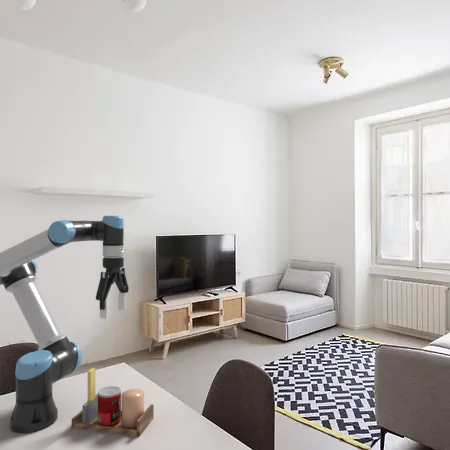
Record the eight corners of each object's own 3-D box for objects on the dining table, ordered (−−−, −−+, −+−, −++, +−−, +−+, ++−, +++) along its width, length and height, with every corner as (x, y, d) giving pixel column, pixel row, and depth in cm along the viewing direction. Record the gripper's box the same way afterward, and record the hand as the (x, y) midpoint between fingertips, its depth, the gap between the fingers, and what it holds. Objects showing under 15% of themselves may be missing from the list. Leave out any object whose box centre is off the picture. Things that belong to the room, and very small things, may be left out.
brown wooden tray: (71, 429, 128) (71, 413, 128) (90, 412, 140) (90, 397, 140) (139, 438, 123) (139, 421, 123) (153, 420, 134) (153, 404, 134)
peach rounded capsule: (117, 430, 127) (117, 397, 127) (127, 418, 134) (127, 387, 134) (138, 432, 125) (138, 399, 125) (147, 420, 133) (147, 389, 133)
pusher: (82, 426, 129) (82, 374, 129) (96, 412, 138) (96, 364, 138) (85, 426, 128) (85, 375, 128) (99, 413, 137) (99, 365, 137)
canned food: (114, 428, 127) (114, 396, 127) (93, 426, 129) (93, 394, 129) (125, 417, 135) (125, 387, 135) (104, 415, 137) (104, 384, 137)
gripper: (104, 260, 127) (104, 323, 127) (137, 254, 151) (137, 306, 151) (85, 259, 128) (85, 321, 128) (120, 254, 153) (120, 306, 153)
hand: (113, 313), depth 140 cm, fingers open, 13 cm apart
